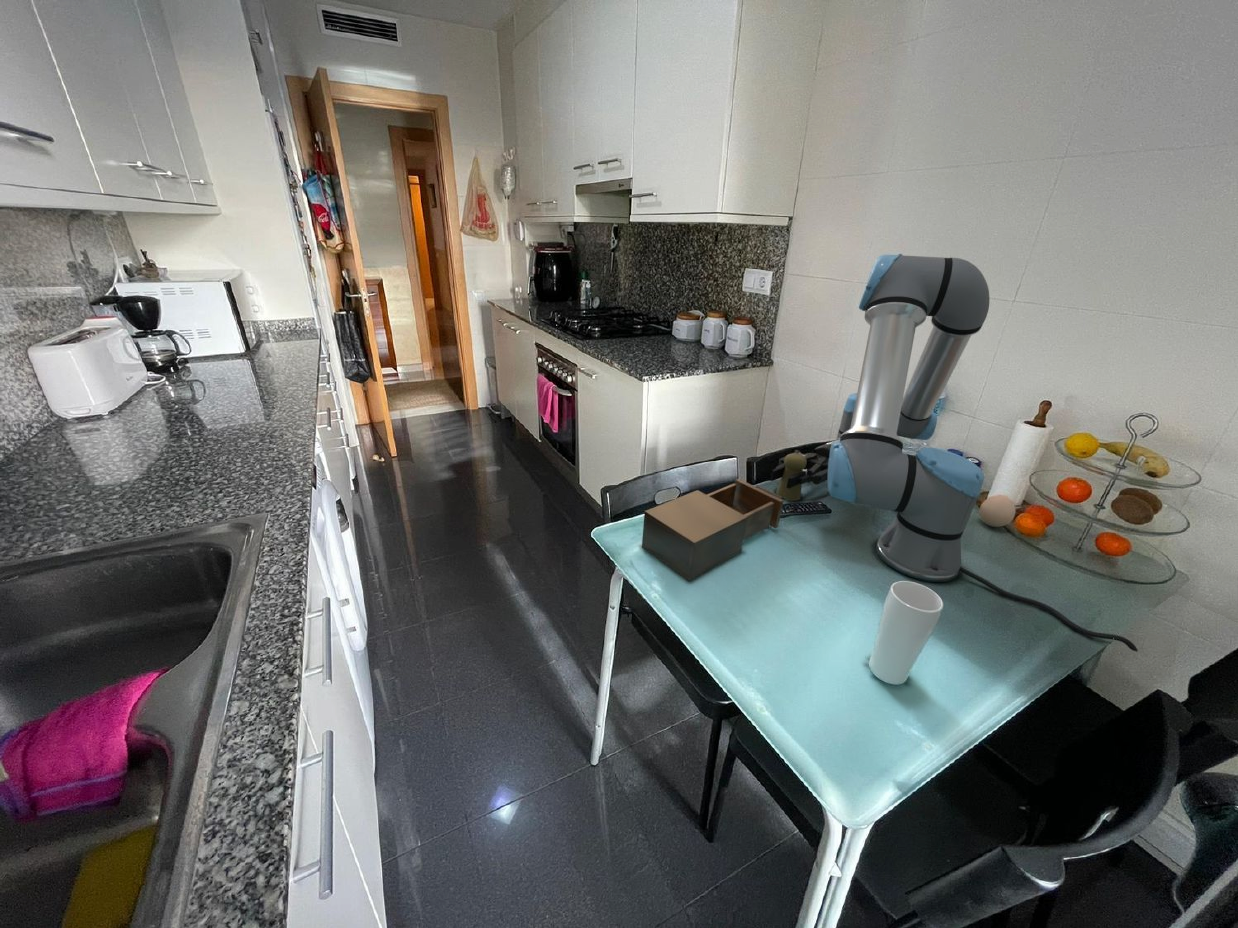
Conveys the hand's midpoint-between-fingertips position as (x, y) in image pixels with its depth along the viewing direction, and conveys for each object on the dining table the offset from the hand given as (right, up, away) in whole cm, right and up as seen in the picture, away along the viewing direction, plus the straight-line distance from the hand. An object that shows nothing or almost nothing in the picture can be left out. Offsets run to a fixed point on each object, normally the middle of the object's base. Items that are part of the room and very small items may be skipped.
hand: (780, 479), depth 121 cm
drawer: (-11, -9, -9) cm, 17 cm away
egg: (+49, -11, -3) cm, 50 cm away
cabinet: (-24, -14, -18) cm, 33 cm away
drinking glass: (+2, -28, -45) cm, 53 cm away
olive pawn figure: (+4, -4, +6) cm, 8 cm away
